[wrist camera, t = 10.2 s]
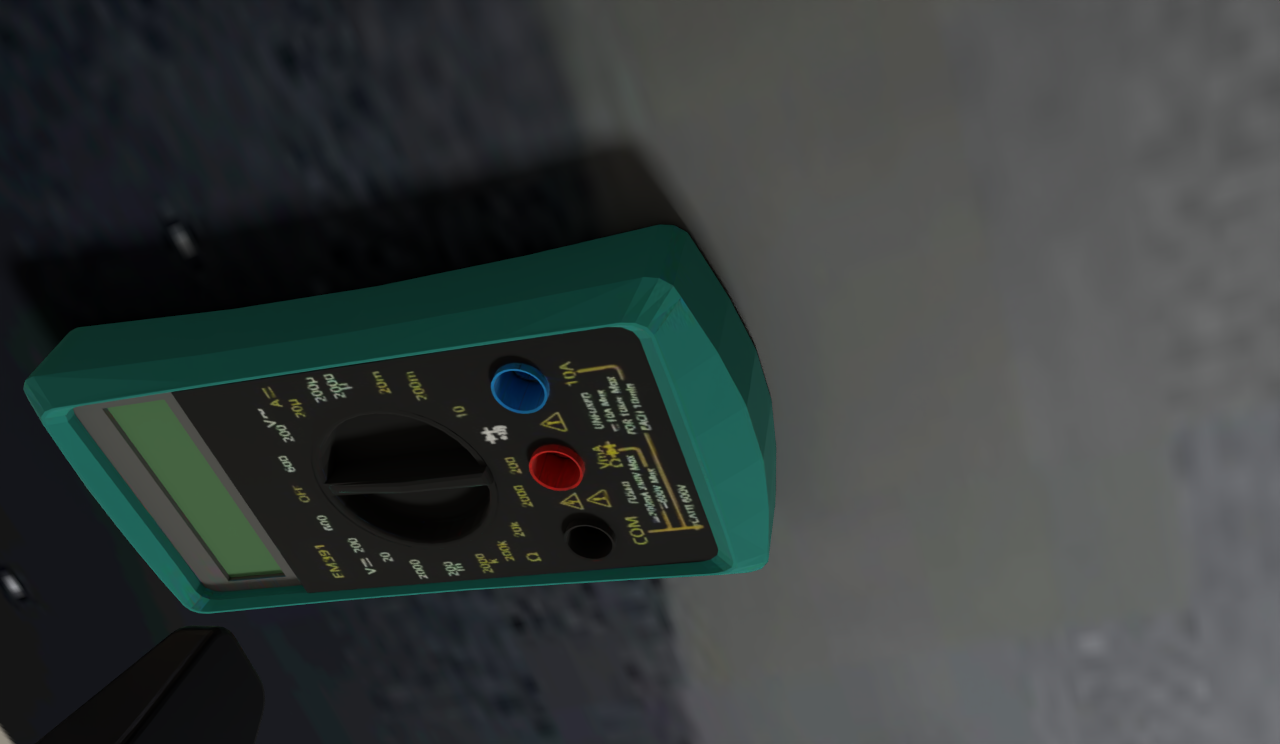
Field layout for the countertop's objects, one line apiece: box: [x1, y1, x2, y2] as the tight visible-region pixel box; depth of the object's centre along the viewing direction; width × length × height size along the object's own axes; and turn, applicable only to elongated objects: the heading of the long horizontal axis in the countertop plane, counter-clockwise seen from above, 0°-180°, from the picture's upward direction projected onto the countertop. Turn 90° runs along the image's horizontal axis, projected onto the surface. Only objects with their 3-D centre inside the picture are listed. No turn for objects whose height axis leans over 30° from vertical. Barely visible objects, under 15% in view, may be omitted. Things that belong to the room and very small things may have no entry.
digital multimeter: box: [23, 224, 776, 614], centre depth 24 cm, size 7×15×3 cm, turn 107°
